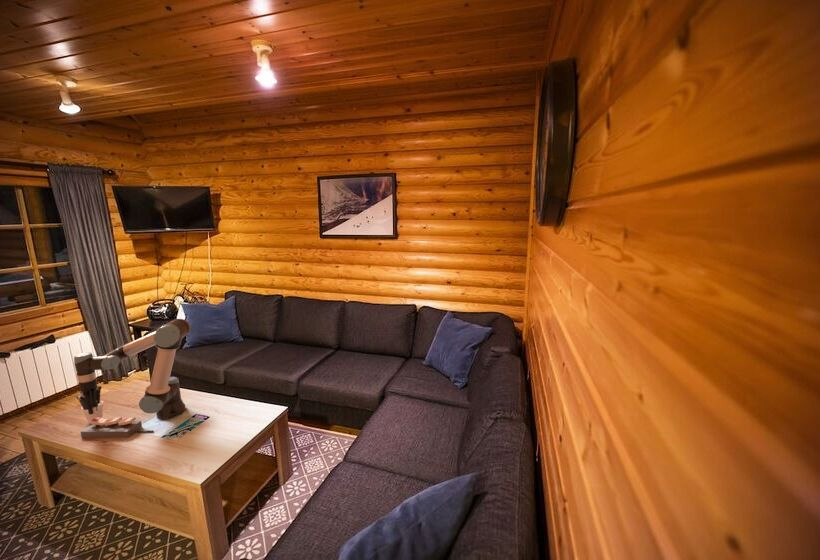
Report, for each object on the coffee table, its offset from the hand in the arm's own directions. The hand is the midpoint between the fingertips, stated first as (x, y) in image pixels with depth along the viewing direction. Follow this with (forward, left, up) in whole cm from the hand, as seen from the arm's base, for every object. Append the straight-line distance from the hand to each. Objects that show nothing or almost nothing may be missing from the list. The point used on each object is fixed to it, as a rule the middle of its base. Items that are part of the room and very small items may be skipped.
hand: (94, 417), depth 192 cm
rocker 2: (-11, 0, -2) cm, 11 cm away
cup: (+9, -10, -9) cm, 16 cm away
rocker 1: (-3, 0, -2) cm, 3 cm away
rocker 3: (-19, 0, -2) cm, 19 cm away
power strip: (-16, +1, -8) cm, 18 cm away
